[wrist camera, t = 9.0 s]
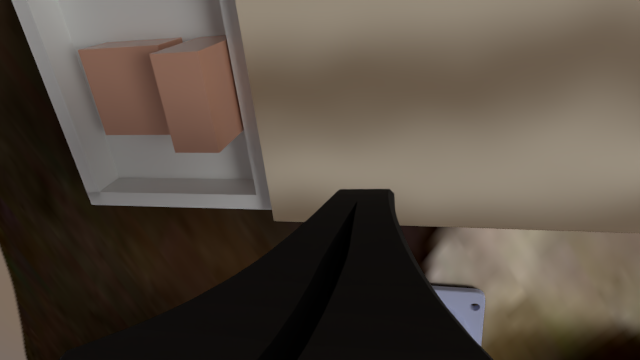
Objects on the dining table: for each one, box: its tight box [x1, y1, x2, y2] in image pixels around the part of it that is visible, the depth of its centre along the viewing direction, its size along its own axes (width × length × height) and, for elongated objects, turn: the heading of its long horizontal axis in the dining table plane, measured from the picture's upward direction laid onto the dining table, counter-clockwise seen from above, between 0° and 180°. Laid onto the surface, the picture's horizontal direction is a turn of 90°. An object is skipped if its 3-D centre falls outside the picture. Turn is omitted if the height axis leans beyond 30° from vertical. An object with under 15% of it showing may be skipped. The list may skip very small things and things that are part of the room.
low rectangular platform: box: [235, 0, 640, 233], centre depth 17 cm, size 12×15×4 cm
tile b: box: [78, 37, 183, 135], centre depth 20 cm, size 4×4×2 cm
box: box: [12, 0, 272, 210], centre depth 20 cm, size 12×11×2 cm
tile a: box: [149, 35, 244, 153], centre depth 18 cm, size 4×4×2 cm
